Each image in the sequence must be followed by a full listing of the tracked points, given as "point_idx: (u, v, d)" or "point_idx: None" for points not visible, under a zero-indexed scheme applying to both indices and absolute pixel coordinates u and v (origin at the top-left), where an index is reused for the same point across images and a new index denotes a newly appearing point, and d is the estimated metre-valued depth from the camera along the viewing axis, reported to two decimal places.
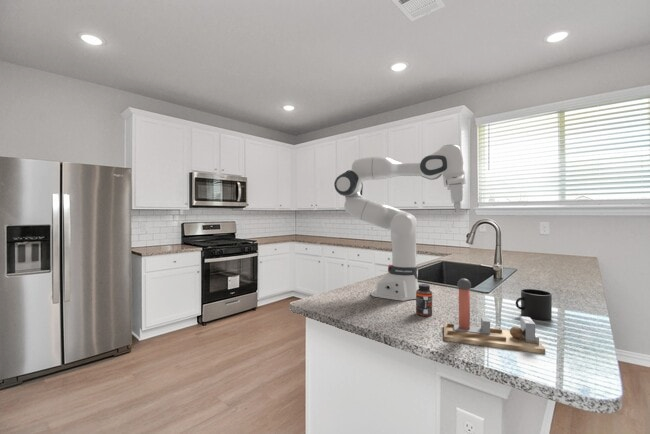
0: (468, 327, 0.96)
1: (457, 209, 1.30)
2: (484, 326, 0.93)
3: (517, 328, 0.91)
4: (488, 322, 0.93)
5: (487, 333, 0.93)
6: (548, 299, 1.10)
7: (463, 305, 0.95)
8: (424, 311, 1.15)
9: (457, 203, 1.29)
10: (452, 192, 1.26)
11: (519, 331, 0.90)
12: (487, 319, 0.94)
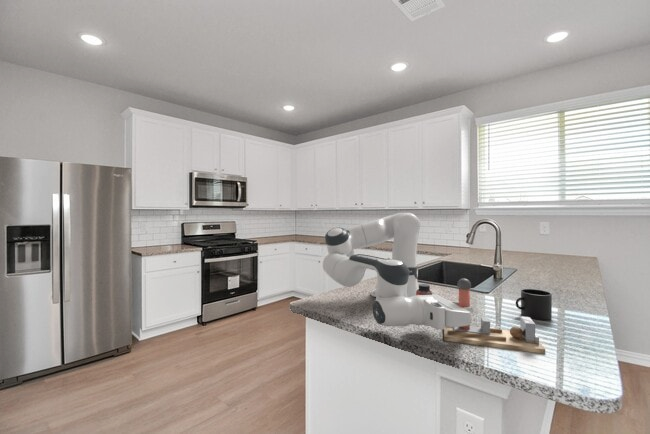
0: (468, 327, 0.96)
1: (468, 311, 0.94)
2: (484, 326, 0.93)
3: (517, 328, 0.91)
4: (488, 322, 0.93)
5: (487, 333, 0.93)
6: (548, 299, 1.10)
7: (463, 305, 0.95)
8: None
9: None
10: (459, 325, 0.86)
11: (519, 331, 0.90)
12: (487, 319, 0.94)
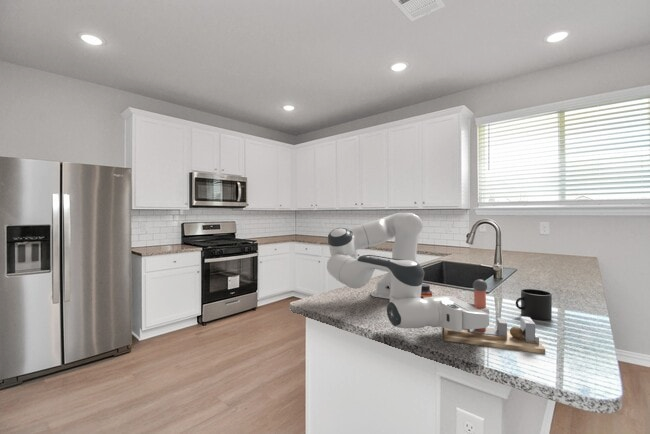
0: (484, 329, 0.94)
1: (485, 313, 0.92)
2: (501, 328, 0.91)
3: (517, 328, 0.91)
4: (505, 324, 0.91)
5: (504, 335, 0.91)
6: (548, 299, 1.10)
7: (479, 307, 0.94)
8: None
9: None
10: (477, 327, 0.85)
11: (519, 331, 0.90)
12: (504, 321, 0.93)
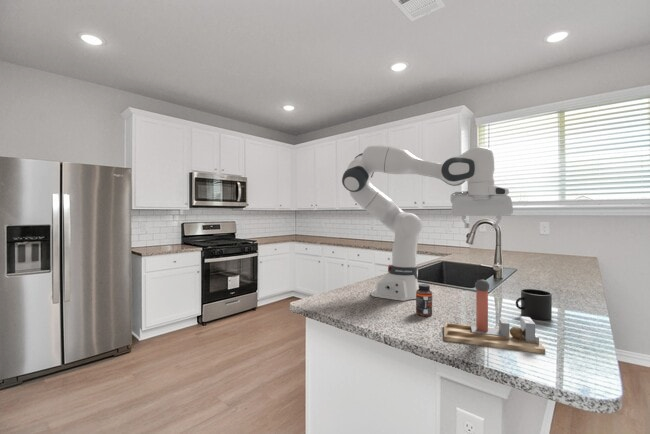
0: (486, 329, 0.94)
1: None
2: (503, 328, 0.91)
3: (517, 328, 0.91)
4: (507, 324, 0.91)
5: (506, 335, 0.91)
6: (548, 299, 1.10)
7: (481, 307, 0.94)
8: (424, 311, 1.15)
9: (500, 217, 1.11)
10: None
11: (519, 331, 0.90)
12: (506, 321, 0.93)
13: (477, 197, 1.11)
